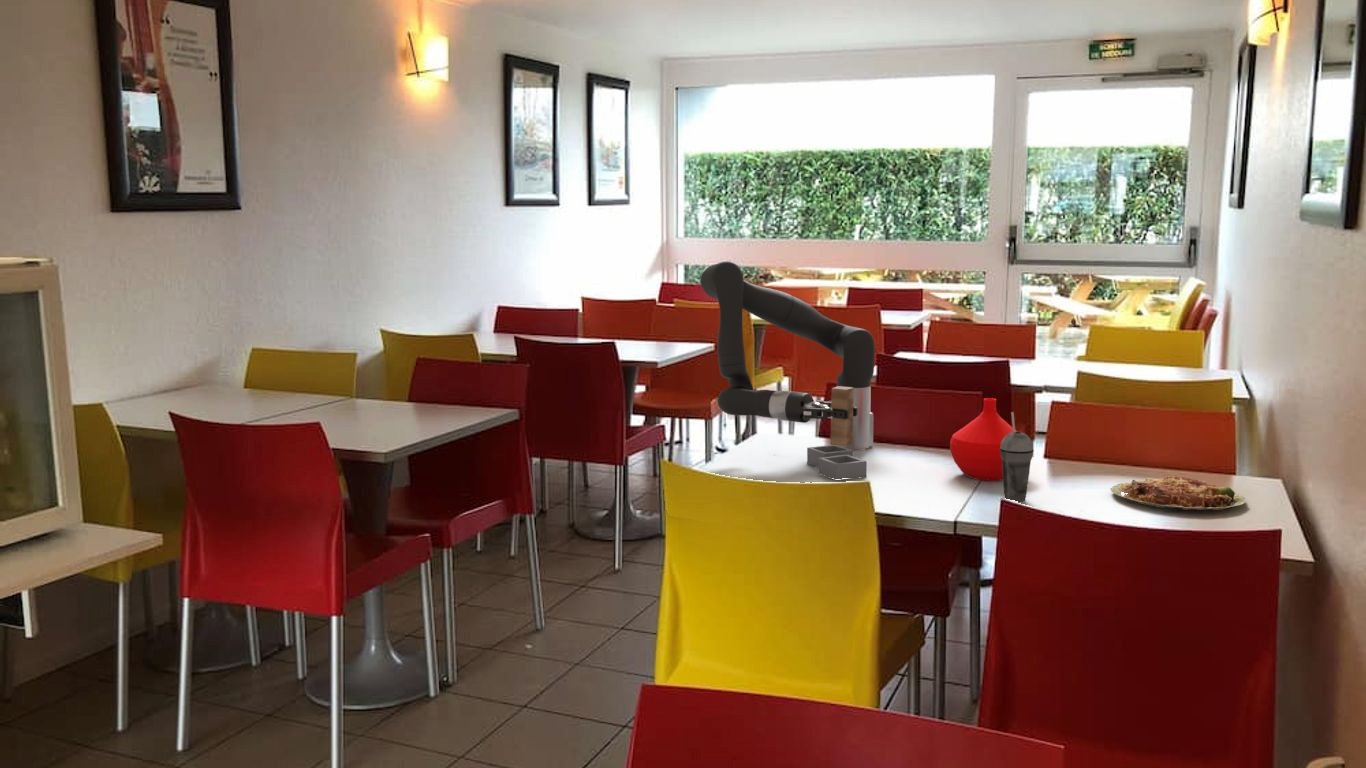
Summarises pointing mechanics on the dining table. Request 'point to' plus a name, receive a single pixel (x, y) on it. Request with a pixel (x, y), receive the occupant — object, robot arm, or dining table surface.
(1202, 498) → the rice dish
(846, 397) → the brown wooden tall block
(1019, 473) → the beverage cup
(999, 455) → the vase
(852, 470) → the end cap near
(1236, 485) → the dining table surface
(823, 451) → the end cap far
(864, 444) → the robot arm
